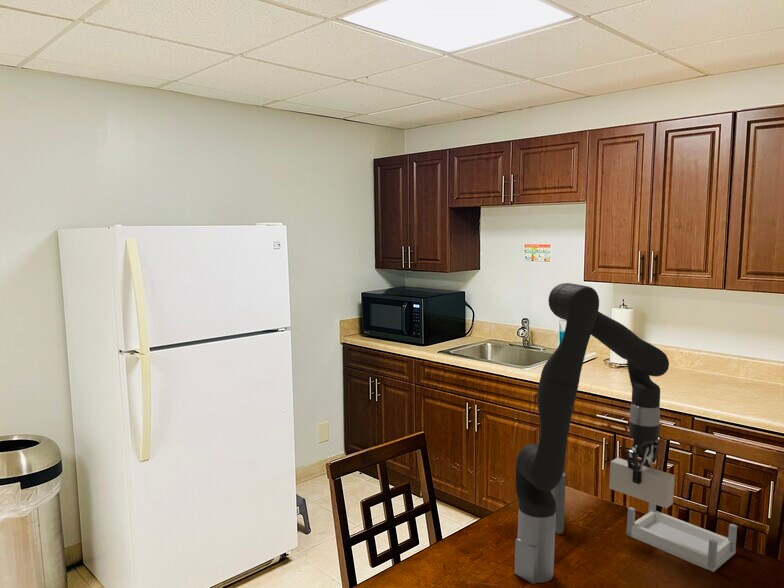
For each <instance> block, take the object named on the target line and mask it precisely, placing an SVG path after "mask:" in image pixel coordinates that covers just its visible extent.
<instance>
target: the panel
mask: <svg viewBox="0 0 784 588" xmlns="http://www.w3.org/2000/svg"><path fill="white" fill-rule="evenodd" d="M638 465H639V463H638ZM609 467H610V468H609V488H608V489H610V490H613V491H615V492H619V493H621V494H623V495H624V494H625V495H627V496H630V497H633V498H636V499H639V500H641V501H644V502H646V503H649V502H650V503H653V504H655V505H656V506H658V507H662V508H665V509H668V508H669V507H671V506H672V505H673V504H674V496H675V495H674V492H675V480H676V479H675V477H676V475H675V474H672V473H669V472H665V471H663V470H659V469H656V468H653V467H651V466H650V467H651V468H650V467H646V466H643V467H642V479H641V484H636V483H634V482H633V481H632V477H633V470H632V469H629V468H628V463H627V459H623V458H620V457H616V458H614V459H612V460H611V461H610V465H609Z"/></svg>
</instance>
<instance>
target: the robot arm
mask: <svg viewBox="0 0 784 588" xmlns="http://www.w3.org/2000/svg"><path fill="white" fill-rule="evenodd" d="M548 306H549V309H550V311H551V312H552V313H553V314H554V315H555V316H556V317H557V318H559V319H561V320H565V321H566V323H565V328H564V332H563V336H562V339H561V342H560V343H559V345H558V346H557V348H556V349H555V351H554V352H553V353H552V355H551V356H550V357H549V358H548V359H547V361H546V363H545V364H544V366H543V367H542V370H541V372H540V373H541V375H540V378H539V382H538V388H537V394H536V395H537V396H536V402H537V403H536V404H537V409H538V416H539V424H540V426H539V427H540V432H539V434H540V435H539V440H538V444H537V443H529V444H527V445H524V446H523V447H522V448H521V449H520V451H519V452H518V454H517V456H516V457H517V458H516V461H515V495H516V498H517V501H518V512H517V513H518V515H517V516H518V517H517V537H516V538H515V541H514V543H515V544H514V545H515V546H514V574H515V575H517V576H518V577H519V578H522V579H523V580H526V581H527V582H529V583H531V584H532V585H535V584H538V583H539V584H540V583H542V584H543V583H547V582H550V580H552V579H553V578H554V568H555V567H554V566H555V544H556V541H555V540H556V533H555V521H556V501H555V498H554V496H553V495H552V493H551V490H552V489H554V488H555V487H556V486H557V485H558V484H559V482H560V480H561V478H562V475H563V472H564V471H565V465H566V464H565V462H566V454H567V443H568V438H569V437H568V436H569V431H570V426H571V422H572V415H573V411H574V406H575V402H576V399H577V394H578V389H579V385H580V379H581V373H582V370H583V364H584V360H585V357H586V352H587V348H588V345H589V342H590V338H591V337H593V338H595V339H596V340H597V341H599V342H600V343H601V344H603V345H604V346H605V347H607V348H608V349H609V350H611V351H612V352H613V353H615V354H616V355H617V356H618V357H620V358H621V359H624V360H626V362H627V363H626V366H627V372H628V375H629V376H628V377H629V380H630V381H629V382H630V384H631V388H632V389H631V403H630V405H631V406H630V408H629V410H630V411H629V424H628V425H629V426H628V435H629V437H631V439H632V440H633V441H632V446H631V447H632V448H631V449H628V448H627V449H626V451H625V453H626V454H625V455H626V460H627V463H628V468H629V469H632V470H633V477H632V481H633V482H634V483H636V484H641V479H642V467H643V466H646V467H650V468H652V466H653V463H656V461H657V455H658V451H659V446H660V442H659V441H658V440H659V438H660V437H659V436H660V426H661V425H660V423H661V422H660V421H661V420H660V419H661V412H660V411H661V410H660V409H661V407H660V403H661V388H660V386H659V385H658V384H657V383H655V382H654V381H653V380H652V379H651V377H654V378H655V377H662V376H663V375H665V374H666V373H667V372H668V370H669V368H670V361H669V358H668V356H667V354H666V353H665V352H663V350H662V349H659V348H658V347H657V346H655V345H654V344H651V343H649V342H648V341H645V340H643V339H642V338H641V337H639V336H638V335H637V334H636V333H634V332H633V331H632V330H631V329H630V328H628V327H626V326H625V325H624V324H622V323H620V321H617V320H615V319H613V318H611V317H609V316H607V315H605V314H604V313H602V312H600V311H599V308H600V297H599V295H598V292H597V291H596V289H594V288H593V287H591V286H587V285H582V284H578V283H577V284H576V283H569V282H565V283H564V282H563V283H559V284H557V285H555V286H554V287H553V288H552V289H551V291H550V293H549V296H548ZM638 464H639V465H638Z"/></svg>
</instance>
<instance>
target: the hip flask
mask: <svg viewBox="0 0 784 588" xmlns="http://www.w3.org/2000/svg"><path fill="white" fill-rule="evenodd" d="M566 479H567V477H566V472H564V471H563V475H562V478H561V480H560V482H559V484H558V485H557V486H556V487H555V488H554V489H552V490H551V493H552V495H553V496H554V498H555V501H556V521H555V534H557V535H559V534H563V533H564V532H565V531H564V530H565V529H564V528H565V527H564V526H565V510H566V509H565V505H566V504H565V503H566V502H565V501H566Z"/></svg>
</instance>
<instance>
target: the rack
mask: <svg viewBox="0 0 784 588" xmlns="http://www.w3.org/2000/svg"><path fill="white" fill-rule="evenodd" d="M626 516H627V520H626V531H625V534H626V536H628V537H631V538H633V539H635V540H638V541H640V542H641V543H644V544H647V545H649V546H652V547H653V548H656V549H659V550H661V551H663V552H666V553H668V554H670V555H673V556H675V557H677V558H680V559H681V560H684V561H686V562H689V563H691V564H694V565H696V566H698V567H701V568H703V569H705V570H708V571H710V572H711V573H714V572H716V570H718V569H719V568H721V567H722V565H724V564H725V563H726V562H727V561H728V560H729V559H731V558H732V557H733V556H734V555H735V554H736V551H737V550H736V549H737V548H736V546H737V533H738V532H737V531H738V525H736V524H734V523H730V524H729V525H728V536H724V535H722V534H718V533H716V532H714V531H711V530H708V529H705V528H703V527H700V526H697V525H695V524H692V523H690V522H687V521H685V520H681V519H679V518H676V517H673V516H671V515H669V514H666V513H663V512H660V511H658V510H657V505H655V504H653V503H650V502H648V512H647V513H646V514H644V515H642V517H639V518H638V519H637V520H636V508H634V507H631V506H630V507H628V508H627V515H626Z"/></svg>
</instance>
